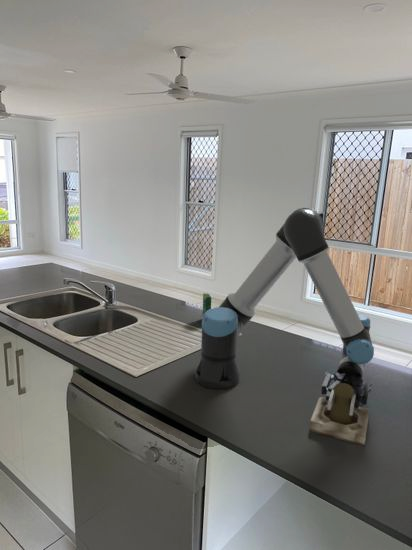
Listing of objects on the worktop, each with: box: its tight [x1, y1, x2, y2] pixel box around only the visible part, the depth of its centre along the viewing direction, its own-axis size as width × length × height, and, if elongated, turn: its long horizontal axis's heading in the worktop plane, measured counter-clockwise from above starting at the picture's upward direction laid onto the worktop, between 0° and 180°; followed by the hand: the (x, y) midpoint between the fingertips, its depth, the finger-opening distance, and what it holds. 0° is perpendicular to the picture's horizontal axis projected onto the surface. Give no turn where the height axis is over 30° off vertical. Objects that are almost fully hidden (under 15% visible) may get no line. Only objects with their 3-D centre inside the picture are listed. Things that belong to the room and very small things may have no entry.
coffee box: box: [202, 292, 212, 316], centre depth 190 cm, size 8×3×13 cm, turn 10°
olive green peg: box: [329, 383, 354, 425], centre depth 110 cm, size 6×6×11 cm
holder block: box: [309, 396, 370, 447], centre depth 111 cm, size 14×14×3 cm
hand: (340, 407), depth 105 cm, fingers closed on olive green peg, 5 cm apart
